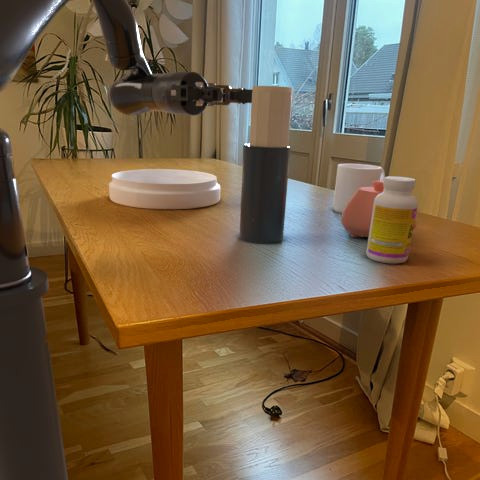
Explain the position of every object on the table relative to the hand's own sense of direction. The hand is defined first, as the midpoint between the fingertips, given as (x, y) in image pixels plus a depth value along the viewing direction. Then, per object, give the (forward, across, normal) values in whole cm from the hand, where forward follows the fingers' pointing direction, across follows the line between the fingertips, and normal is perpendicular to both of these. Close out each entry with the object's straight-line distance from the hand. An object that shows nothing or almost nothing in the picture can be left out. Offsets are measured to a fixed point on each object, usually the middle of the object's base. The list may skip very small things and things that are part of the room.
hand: (237, 95), depth 82 cm
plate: (-33, +8, +24) cm, 41 cm away
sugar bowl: (+20, +19, +24) cm, 37 cm away
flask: (+8, 0, +24) cm, 25 cm away
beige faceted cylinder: (+8, 0, +8) cm, 11 cm away
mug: (+4, +38, +24) cm, 45 cm away
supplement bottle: (+29, +7, +24) cm, 38 cm away
